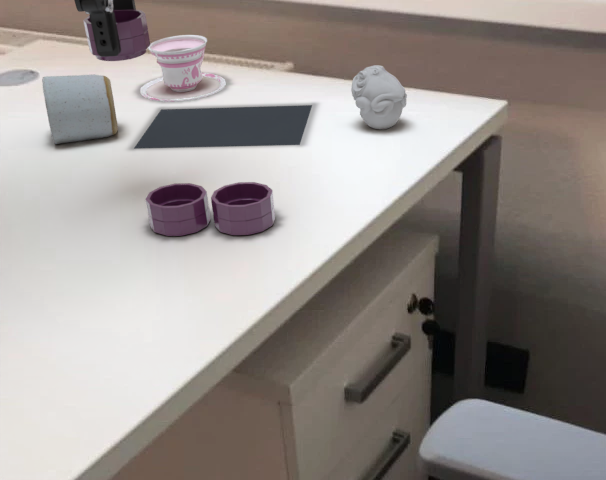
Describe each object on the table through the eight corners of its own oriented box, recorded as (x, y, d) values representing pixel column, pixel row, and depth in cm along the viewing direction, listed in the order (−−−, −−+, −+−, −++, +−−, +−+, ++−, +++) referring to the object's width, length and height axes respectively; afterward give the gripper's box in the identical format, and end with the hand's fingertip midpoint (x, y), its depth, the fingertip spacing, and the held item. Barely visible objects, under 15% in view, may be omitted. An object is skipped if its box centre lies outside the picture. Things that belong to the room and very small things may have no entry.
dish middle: (145, 241, 86) (139, 207, 84) (160, 215, 91) (154, 183, 88) (203, 240, 85) (199, 207, 83) (215, 214, 90) (211, 182, 88)
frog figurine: (373, 115, 110) (373, 56, 105) (418, 126, 106) (419, 65, 102) (341, 130, 107) (339, 69, 102) (386, 141, 103) (385, 79, 98)
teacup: (185, 109, 116) (178, 60, 112) (122, 96, 122) (113, 49, 118) (244, 83, 123) (239, 36, 120) (181, 72, 129) (175, 27, 125)
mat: (134, 151, 105) (133, 148, 105) (161, 112, 116) (161, 109, 116) (299, 148, 103) (299, 144, 103) (312, 108, 114) (312, 105, 113)
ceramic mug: (123, 143, 108) (110, 77, 103) (55, 153, 106) (39, 86, 102) (116, 117, 116) (104, 55, 111) (53, 126, 115) (38, 64, 110)
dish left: (83, 63, 86) (75, 25, 84) (102, 46, 90) (95, 10, 88) (141, 61, 85) (134, 23, 83) (157, 44, 89) (151, 7, 87)
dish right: (211, 240, 85) (206, 207, 83) (222, 214, 90) (217, 182, 88) (270, 239, 85) (267, 206, 82) (278, 214, 89) (275, 181, 87)
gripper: (67, -167, 82) (105, 28, 93) (7, -149, 71) (58, 69, 82) (145, -172, 81) (174, 25, 92) (95, -156, 70) (135, 66, 81)
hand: (119, 45), depth 87 cm, fingers closed on dish left, 6 cm apart
